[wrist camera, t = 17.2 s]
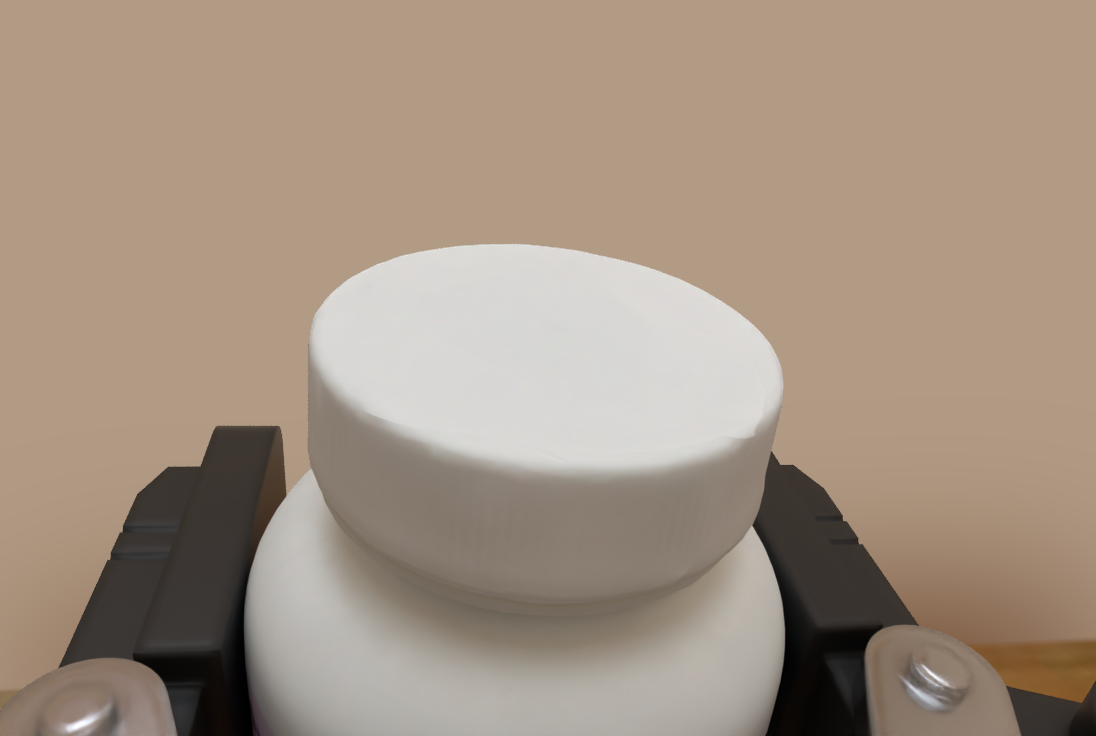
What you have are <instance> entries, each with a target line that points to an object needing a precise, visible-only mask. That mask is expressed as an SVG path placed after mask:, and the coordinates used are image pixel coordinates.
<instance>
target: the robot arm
mask: <svg viewBox="0 0 1096 736" xmlns="http://www.w3.org/2000/svg"><path fill="white" fill-rule="evenodd" d="M285 498H286V483H285V470H284V454H283V441H282V434H281V429H280V427H279V426H217V427H216V428H215V429H214V431H213V434H212V437H211V440H210V442H209V445H208V447H207V450H206V453H205V456H204V458H203V461H202V464H201V467H168V468H166V469H165V470H164V471H163V472H162V473H161V474H160V475H159V476H157V477H156V478H155V479H154V480H153V481H152V482H151V483H150V484H148V485H147V486H146V487H145V488H144V489H143V490H142V491H140V492H139V493H138V494H137V496H136V498H135V501H134V503H133V505H132V507H131V509H130V512H129V514H128V516H127V519H126V520H125V523H124V525H123V532H122V533H120V534H119V536H118V538H117V540H116V543H115V545H114V547H113V549H112V551H111V559H110V560H107V562H106V565H105V567H104V569H103V571H102V573H101V576H100V578H99V580H98V582H97V584H96V587H95V589H94V591H93V593H92V595H91V598H90V600H89V602H88V604H87V607H86V609H85V611H84V613H83V615H82V617H81V620H80V622H79V624H78V626H77V629H76V631H75V633H74V635H73V638H72V640H71V642H70V644H69V646H68V648H67V651H66V653H65V655H64V657H63V660H62V662H61V664H60V666H59V668H58V669H56V670H54V671H52V672H50V673H47V674H45V675H43V676H41V677H40V678H38V679H36V680H35V681H33V682H32V683H30V684H28V685H27V686H26V687H24V688H23V689H22V690H20V691H19V692H18V693H17V694H15V695H14V696H13V697H12V698H11V699H10V700H9V701H8V702H7V703H6V704H5V705H4V706H3V707H2V708H1V710H0V736H253V731H252V721H251V711H250V702H249V697H248V692H247V690H248V684H247V676H246V668H245V649H244V605H245V597H246V590H247V584H248V579H249V574H250V570H251V567H252V564H253V561H254V557H255V554H256V551H257V548H258V545H259V542H260V540H261V538H262V536H263V534H264V532H265V530H266V528H267V526H268V524H269V523H270V521H271V519H272V517H273V515H274V514H275V512H276V510H277V509H278V507H279V506H280V505H281V503H282V502H283V500H284V499H285ZM752 526H753V528H754V530H755V531H756V533H757V535H758V537H759V538H760V540H761V542H762V544H763V546H764V548H765V550H766V552H767V555H768V557H769V560H770V562H771V565H772V567H773V570H774V573H775V577H776V580H777V583H778V586H779V591H780V595H781V599H782V605H783V614H784V624H785V651H784V662H783V669H782V675H781V680H780V685H779V689H778V693H777V697H776V701H775V705H774V709H773V713H772V716H771V720H770V723H769V727H768V730H767V733H766V735H765V736H1096V681H1095V683H1094V684H1093V686H1092V688H1091V689H1090V691H1089V693H1088V694H1087V696H1086V698H1085V699H1084V701H1083V702H1082V703H1079V702H1074V701H1070V700H1065V699H1061V698H1056V697H1052V696H1047V695H1043V694H1038V693H1034V692H1029V691H1025V690H1020V689H1016V688H1012V687H1008V686H1005V684H1004V682H1003V681H1002V679H1001V677H1000V676H999V674H998V673H997V672H996V671H995V669H994V668H993V667H992V666H991V665H990V664H989V663H988V662H987V661H986V660H985V659H984V658H983V657H982V656H980V655H979V654H978V653H977V652H976V651H974V650H973V649H972V648H970V647H968V646H967V645H965V644H964V643H962V642H960V641H959V640H957V639H955V638H953V637H951V636H949V635H946V634H944V633H942V632H939V631H936V630H933V629H930V628H926V627H921V626H919V625H918V624H917V622H916V621H915V619H914V618H913V617H912V615H911V614H910V612H909V611H908V609H907V608H906V606H905V605H904V604H903V602H902V601H901V599H900V598H899V596H898V595H897V593H896V592H895V591H894V589H893V588H892V586H891V585H890V583H889V582H888V580H887V579H886V578H885V576H884V575H883V573H882V572H881V570H880V569H879V567H878V566H877V565H876V563H875V562H874V560H873V559H872V557H871V556H870V555H869V553H868V552H867V551H866V549H865V548H864V546H863V545H862V544H859V543H858V537H857V536H856V534H855V533H854V531H853V530H852V529H851V527H850V526H849V524H848V523H847V522H846V521H843V516H842V514H841V513H840V511H839V510H838V508H837V507H836V505H835V504H834V502H833V501H832V500H831V498H830V497H829V495H828V494H827V492H826V491H825V489H824V488H823V487H821V486H820V485H819V484H817V483H816V482H815V481H813V480H812V479H811V478H810V477H808V476H807V475H806V474H804V473H803V472H802V471H800V470H799V469H798V468H797V467H795V466H794V465H780V464H779V462H778V460H777V459H776V457H775V456H774V454H773V453H772V451H771V453H770V457H769V462H768V466H767V470H766V474H765V483H764V491H763V496H762V500H761V504H760V508H759V511H758V514H757V516H756V518H755V520H754V523H753V525H752Z"/></svg>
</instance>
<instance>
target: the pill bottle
mask: <svg viewBox="0 0 1096 736" xmlns="http://www.w3.org/2000/svg"><path fill="white" fill-rule="evenodd" d="M783 387H784V386H783V377H782V369H781V366H780V363H779V360H778V358H777V356H776V354H775V352H774V350H773V348H772V347H771V345H770V344H769V342H768V341H767V340H766V338H765V337H764V336H763V335H762V333H761V332H760V331H759V330H758V329H757V328H756V327H755V326H754V325H753V324H752V323H751V322H749V321H748V320H747V319H745V318H744V317H743V316H742V315H740V314H739V313H738V312H736V311H735V310H734V309H733V308H731V307H730V306H728V305H726V304H725V303H723V302H721V301H720V300H718V299H717V298H715V297H713V296H712V295H710V294H708V293H707V292H705V291H703V290H701V289H699V288H697V287H695V286H693V285H691V284H689V283H687V282H685V281H683V280H681V279H679V278H676V277H673V276H670V275H667V274H665V273H663V272H660V271H657V270H654V269H651V268H648V267H645V266H641V265H637V264H634V263H630V262H626V261H622V260H618V259H614V258H609V257H604V256H600V255H595V254H591V253H586V252H582V251H575V250H569V249H561V248H554V247H544V246H536V245H526V244H496V245H491V244H483V245H468V246H456V247H446V248H440V249H434V250H429V251H421V252H417V253H412V254H408V255H403V256H400V257H396V258H394V259H391V260H389V261H386V262H383V263H379V264H377V265H375V266H373V267H371V268H369V269H367V270H365V271H363V272H361V273H359V274H357V275H355V276H353V277H351V278H350V279H348V280H347V281H345V282H344V283H343V284H342V285H341V286H339V287H338V288H337V289H336V290H335V291H334V292H333V293H331V295H329V297H328V298H327V299H326V300H325V301H324V303H323V304H322V306H321V307H320V308H319V310H317V312H316V314H315V316H314V318H313V322H312V327H311V333H310V338H309V344H308V453H309V459H310V465H311V469H310V470H309V471H308V472H307V473H306V474H305V475H304V476H303V477H302V478H301V479H300V480H299V481H298V483H297V484H296V485H295V486H294V487H293V488H292V490H291V491H290V492H289V493H288V495H287V496H286V498H285V499H284V500H283V502H282V503H281V505H280V506H279V507H278V509H277V510H276V512H275V514H274V515H273V517H272V519H271V521H270V523H269V524H268V526H267V528H266V530H265V532H264V534H263V536H262V538H261V540H260V542H259V545H258V548H257V551H256V554H255V557H254V561H253V564H252V567H251V570H250V574H249V579H248V584H247V590H246V597H245V605H244V649H245V668H246V676H247V684H248V690H247V692H248V697H249V702H250V711H251V721H252V731H253V736H765V735H766V733H767V730H768V727H769V723H770V720H771V716H772V713H773V709H774V705H775V701H776V697H777V693H778V689H779V685H780V680H781V675H782V669H783V662H784V651H785V624H784V614H783V605H782V599H781V595H780V591H779V586H778V583H777V580H776V577H775V573H774V570H773V567H772V565H771V562H770V560H769V557H768V555H767V552H766V550H765V548H764V546H763V544H762V542H761V540H760V538H759V537H758V535H757V533H756V531H755V530H754V528H753V526H752V525H753V523H754V520H755V518H756V516H757V514H758V511H759V508H760V504H761V500H762V496H763V491H764V483H765V474H766V470H767V466H768V462H769V457H770V453H771V449H772V445H773V441H774V437H775V432H776V428H777V424H778V420H779V415H780V412H781V407H782V401H783V393H784V388H783Z"/></svg>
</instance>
